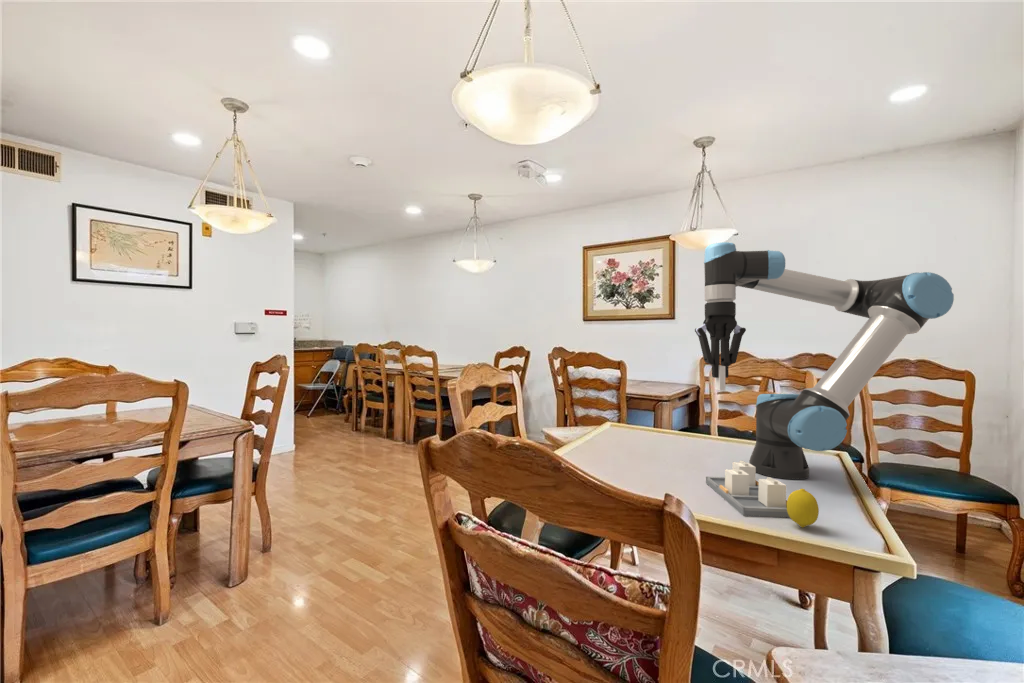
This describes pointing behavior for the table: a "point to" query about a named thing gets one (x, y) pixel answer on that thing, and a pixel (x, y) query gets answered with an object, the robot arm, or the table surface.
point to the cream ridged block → (737, 482)
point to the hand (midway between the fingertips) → (720, 389)
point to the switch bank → (746, 500)
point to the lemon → (802, 508)
